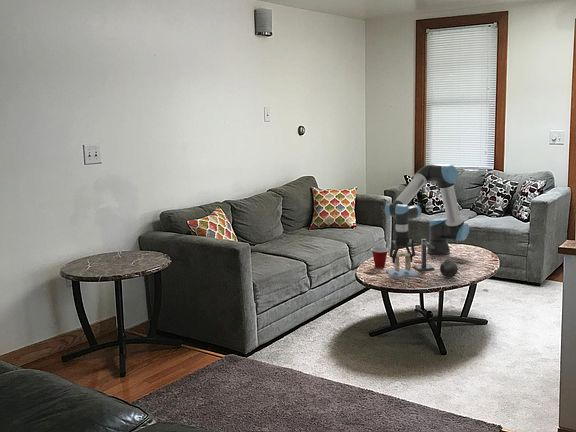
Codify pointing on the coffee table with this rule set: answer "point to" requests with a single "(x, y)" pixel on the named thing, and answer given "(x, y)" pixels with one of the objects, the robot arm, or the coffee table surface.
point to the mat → (402, 273)
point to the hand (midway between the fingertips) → (402, 268)
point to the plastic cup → (379, 256)
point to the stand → (424, 257)
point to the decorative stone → (448, 269)
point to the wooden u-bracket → (407, 260)
